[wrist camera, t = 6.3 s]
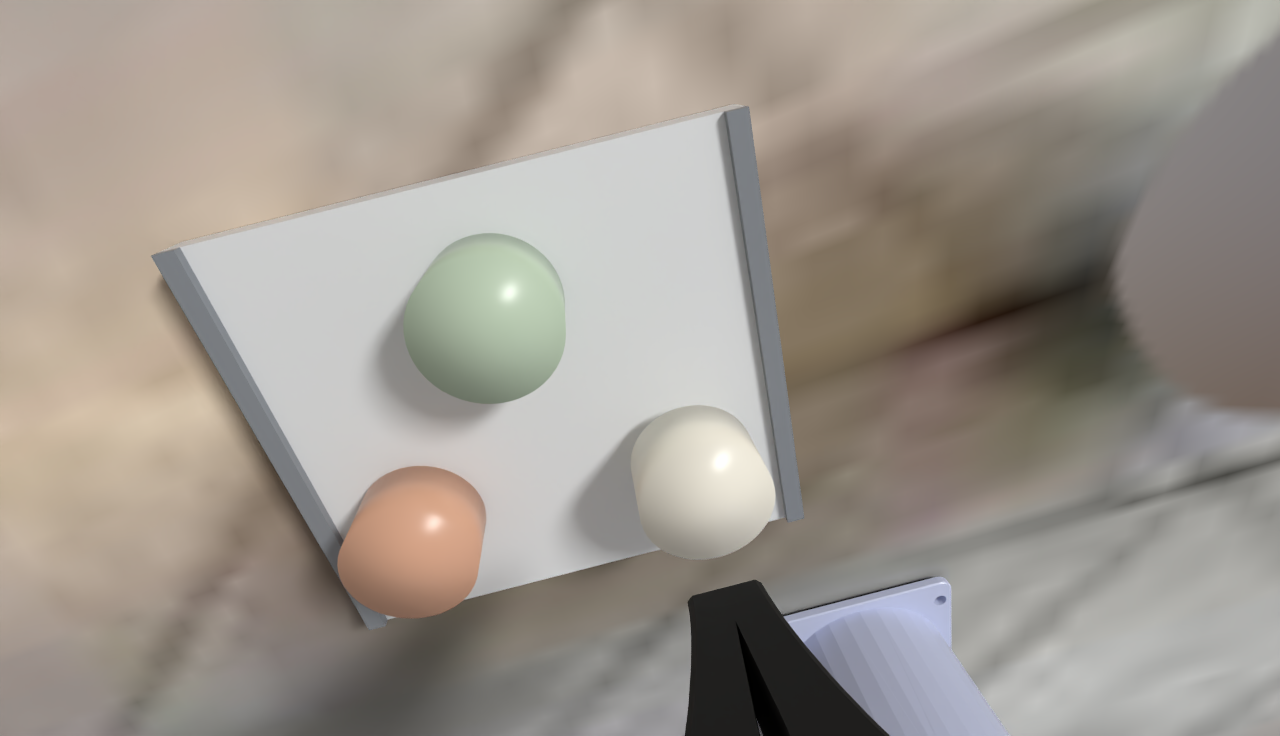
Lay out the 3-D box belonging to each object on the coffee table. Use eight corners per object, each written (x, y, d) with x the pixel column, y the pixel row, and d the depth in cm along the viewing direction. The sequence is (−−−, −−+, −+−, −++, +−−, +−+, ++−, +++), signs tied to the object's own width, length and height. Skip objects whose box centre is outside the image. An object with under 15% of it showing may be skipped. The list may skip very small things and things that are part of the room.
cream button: (760, 493, 21) (782, 540, 19) (645, 522, 21) (655, 573, 19) (742, 391, 20) (765, 431, 17) (617, 423, 20) (625, 467, 17)
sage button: (580, 347, 19) (583, 383, 17) (451, 380, 19) (436, 419, 17) (542, 217, 17) (540, 238, 15) (399, 252, 17) (377, 279, 15)
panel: (790, 493, 24) (804, 518, 23) (379, 598, 24) (368, 630, 22) (734, 103, 18) (748, 106, 17) (182, 241, 18) (150, 255, 16)
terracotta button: (502, 547, 22) (496, 599, 20) (389, 576, 22) (370, 631, 20) (463, 452, 20) (451, 498, 18) (339, 483, 20) (313, 533, 18)
